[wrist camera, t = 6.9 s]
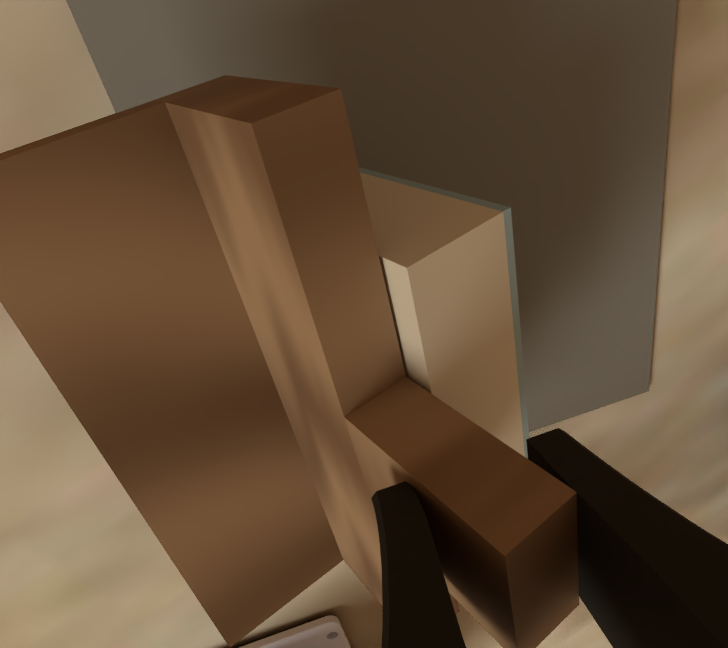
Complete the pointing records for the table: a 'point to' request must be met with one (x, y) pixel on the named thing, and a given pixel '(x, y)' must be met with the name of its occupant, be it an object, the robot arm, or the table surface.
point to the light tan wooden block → (453, 299)
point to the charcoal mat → (470, 137)
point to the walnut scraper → (260, 359)
